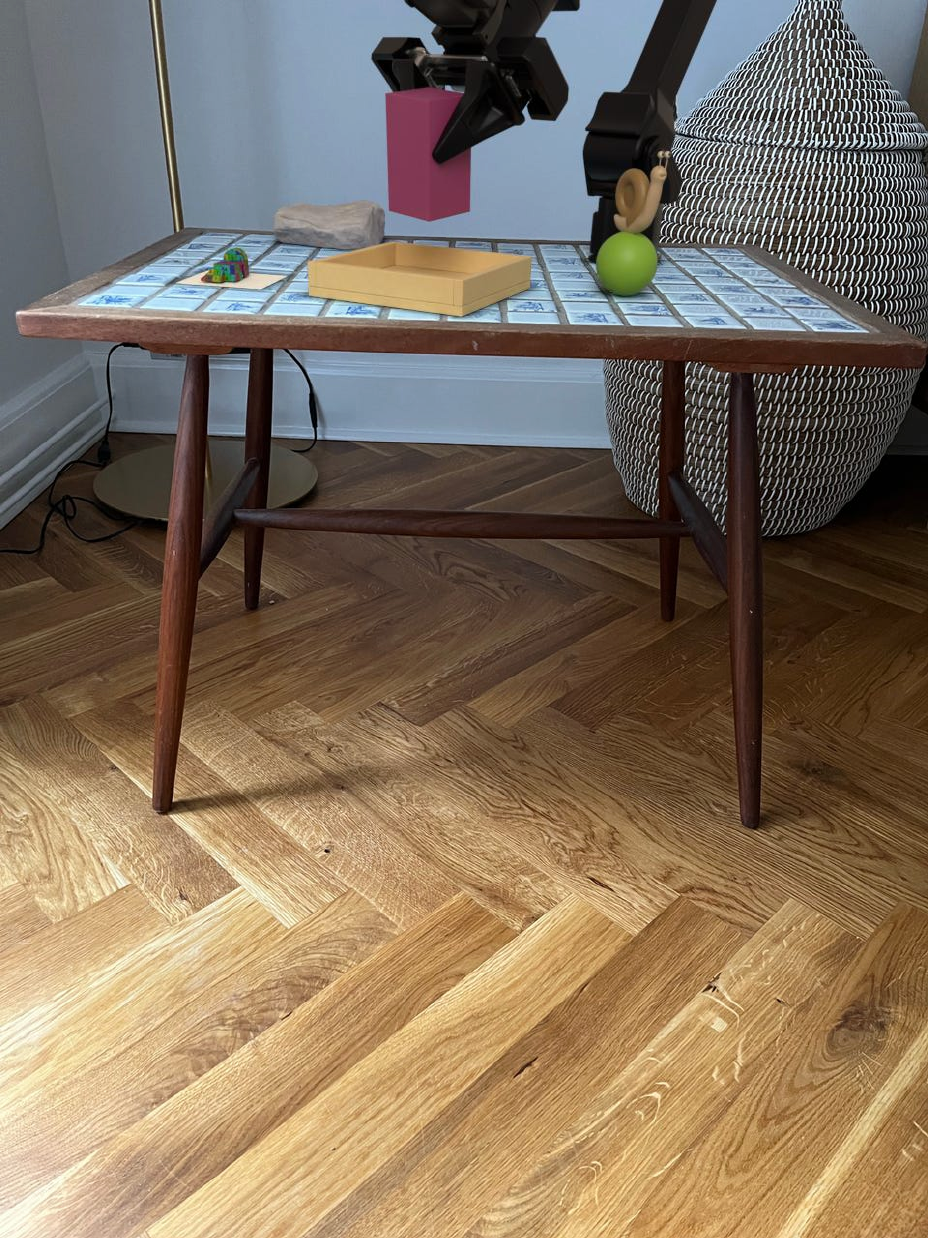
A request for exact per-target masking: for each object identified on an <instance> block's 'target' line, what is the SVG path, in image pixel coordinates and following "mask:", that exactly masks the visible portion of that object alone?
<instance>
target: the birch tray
mask: <svg viewBox="0 0 928 1238" xmlns="http://www.w3.org/2000/svg"><path fill="white" fill-rule="evenodd" d="M532 262H533V256H531V255H523V254H513V253H503V252H495V251H486V250H485V251H484V250H477V249H476V250H475V249H467V248H459V247H458V248H457V247H450V246H440V245H431V244H422V243H414V242H413V243H411V242H404V241H403V242H402V241H394V240H392V241H388V242H383V243H380V244H379V245H375V246H371V247H367V248H362V249H353V250H350V251H346V252H342V253H337V254H334V255H330V256H325V257H321V258H317V259H313V260H309V261H307V283H308V284H307V285H308V287H307V288H308V296H309V297H315V298H321V299H330V300H335V301H336V300H337V301H343V302H351V303H358V304H366V305H371V306H372V305H374V306H380V307H388V308H395V309H403V310H409V311H416V312H423V313H431V314H439V315H447V316H454V317H460V318H462V317H464V316H467V315H470V314H471V313H475V312H476V311H479V310H481V309H483V308H486V307H488V306H491V305H493V304H496V303H498V302H500V301H503V300H506V299H507V298H510V297H512V296H514V295H517V294H519V293H522V292H524V291H527V290H529V289H530V288H531V278H532V266H533V265H532V264H533V263H532Z"/></svg>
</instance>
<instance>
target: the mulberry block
mask: <svg viewBox="0 0 928 1238" xmlns="http://www.w3.org/2000/svg"><path fill="white" fill-rule="evenodd" d="M463 94H464V92H457V91H454V90H448V89H445V90H442V89H436V88H430V87H428V88H420V89H413V90H405V91H398V92H393V91H392V92H386V93H385V94H384V95H385V97H384V98H385V100H384V101H385V128H386V132H385V133H386V156H387V157H386V160H387V162H386V163H387V165H386V166H387V195H388V197H387V198H388V211H389V212H392V213H396V214H399V215H403V216H406V217H411V218H414V219H417V220H421V221H424V222H429V223H430V222H434V221H438V220H441V219H446V218H450V217H454V216H458V215H462V214H466V213H470V212H471V180H472V179H471V176H472V175H471V172H472V167H471V166H472V161H471V160H472V147H471V148H470V149H468V150H466V151H464V152H462V153H461V154H459V155H457V156H455V157H453V158H452V159H450V160H448V161H446V162H444V163H443V164H437V163H436V161H435V160H434V158H433V157H432V152H433V150H434V148H435V146H436V144H437V142H438V140H439V138H440V136H441V133H442V131H443V130H444V128H445V126H446V124H447V122H448V121H449V119H450V117H451V115H452V114H453V112H454V110H455V108H456V106H457V105H458V103H459V101H460V99H461V98H462V96H463Z"/></svg>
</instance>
